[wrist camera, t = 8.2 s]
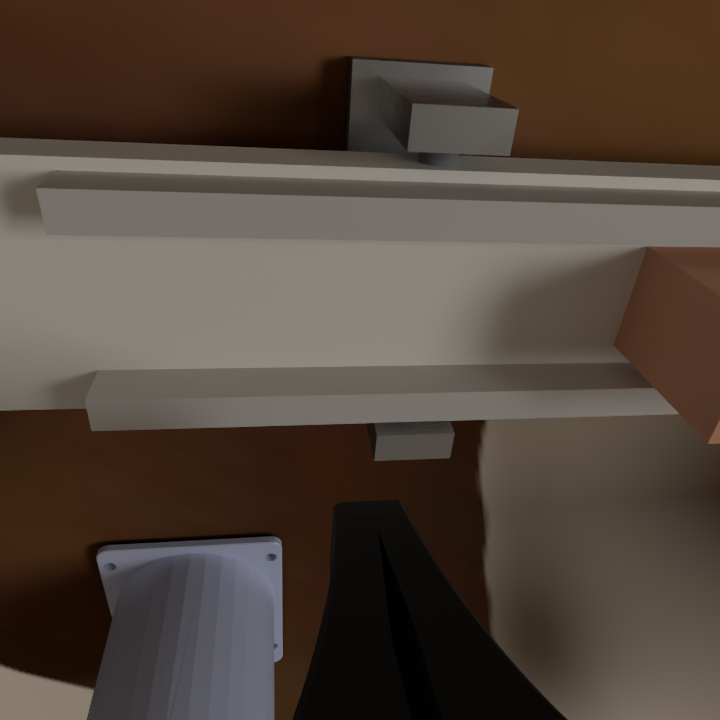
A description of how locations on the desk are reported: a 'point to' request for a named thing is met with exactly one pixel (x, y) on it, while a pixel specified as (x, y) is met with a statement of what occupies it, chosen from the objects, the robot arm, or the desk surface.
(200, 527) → the desk surface
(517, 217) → the beam
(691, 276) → the block
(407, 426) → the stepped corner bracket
